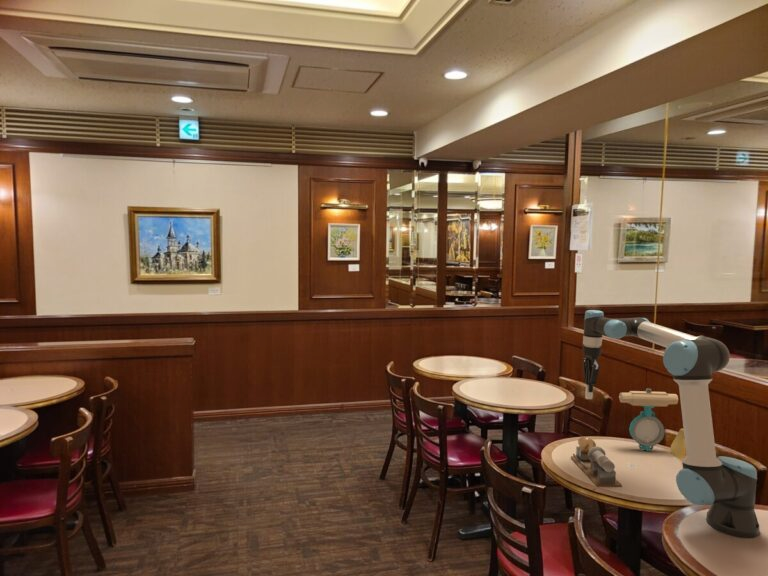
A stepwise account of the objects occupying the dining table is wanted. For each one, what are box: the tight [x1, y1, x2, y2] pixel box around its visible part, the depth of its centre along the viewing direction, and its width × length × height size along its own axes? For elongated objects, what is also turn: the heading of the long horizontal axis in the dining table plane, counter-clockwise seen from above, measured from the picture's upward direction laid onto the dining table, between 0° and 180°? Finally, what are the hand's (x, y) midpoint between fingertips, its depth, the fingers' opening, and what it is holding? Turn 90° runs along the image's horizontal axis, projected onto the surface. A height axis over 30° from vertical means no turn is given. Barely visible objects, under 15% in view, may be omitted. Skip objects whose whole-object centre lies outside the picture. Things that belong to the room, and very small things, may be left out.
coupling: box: [575, 436, 597, 461], centre depth 231 cm, size 6×7×10 cm
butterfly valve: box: [618, 387, 680, 452], centre depth 245 cm, size 27×7×30 cm, turn 84°
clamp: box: [670, 428, 686, 462], centre depth 233 cm, size 20×9×16 cm, turn 176°
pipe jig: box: [570, 445, 623, 488], centre depth 221 cm, size 29×10×12 cm, turn 1°
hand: (588, 398), depth 228 cm, fingers closed
